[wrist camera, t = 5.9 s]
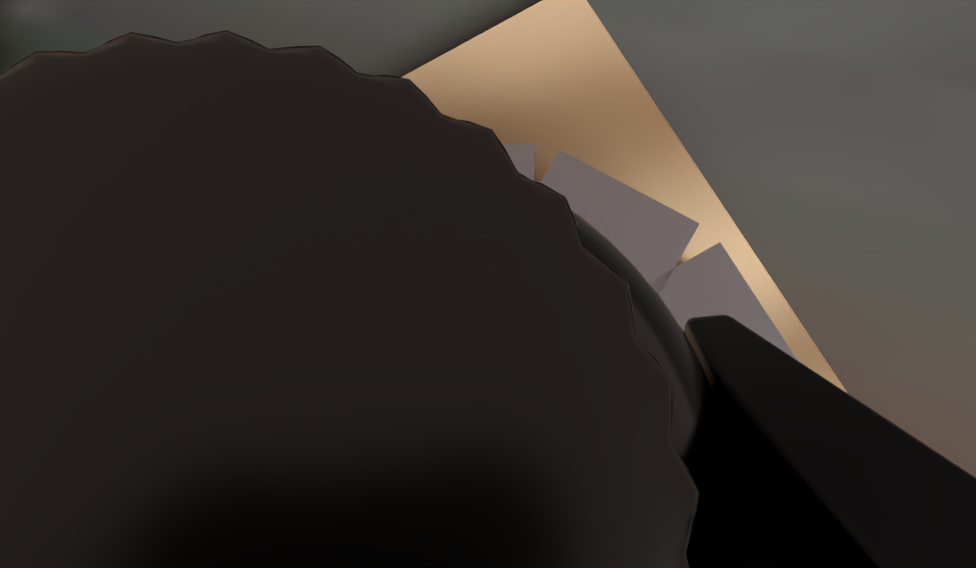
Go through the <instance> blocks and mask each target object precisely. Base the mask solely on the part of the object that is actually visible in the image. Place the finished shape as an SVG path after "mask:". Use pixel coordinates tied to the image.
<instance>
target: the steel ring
mask: <svg viewBox="0 0 976 568" xmlns="http://www.w3.org/2000/svg"><path fill="white" fill-rule="evenodd" d="M503 146H504V147H505V149H506V150H507V153H508V155H509V156H510V158H511V160H512V162H513V164H514V166H515V168H516V169H517V171H518V172H519V173H521V174H523V175H524V176H526V177H528V178H529V179H531V180H533V181H536V182H537V180H536V161H535V144H503ZM540 183H543V184H544V185H546V186H548V187H549V188H551V189H553V190H555V191H556V192H558V193H560V194H561V195H563V196H565V197H566V198H567V201H568V203H569V206H570V208H571V210H573V211H574V212H575V213H577V214H578V215H580V216H581V217H583V218H584V219H585V220H586V221H587V222H589V223H590V224H591V225H592V226H593V227H595V228H596V229H597V230H598V231H599V232H601V233H602V234H603V235H604V236H605V237H606V238H608V239H609V240H610V241H611V242H612V243H613V244H614V245H615V246H616V247H617V248H618V249H619V250H620V251H621V252H622V253H623V254H624V255H625V256H626V257H627V258H628V259H629V260H630V261H631V262H632V263H633V264H634V265H635V266H636V267H637V268H638V269H639V271H640V272H641V273H642V274H643V276H644V277H645V278H646V279H647V281H648V282H649V283H650V284H651V286H652V287H653V288H654V289H655V290H656V292H657V293H658V294H659V295H660V297H661V298H662V299H663V301H664V302H665V304H666V305H667V307H668V308H669V310H670V311H671V313H672V314H673V316H674V317H675V319H676V320H677V322H678V323H679V325H680V326H681V328H682V330H683V331H684V328H685V324H686V322H687V320H689V319H690V318H693V317H703V316H713V315H722V314H723V315H728V316H730V317H732V318H734V319H735V320H737V321H738V322H740V323H741V324H743V325H744V326H746V327H748V328H749V329H751V330H752V331H754V332H755V333H757V334H758V335H760V336H761V337H763V338H764V339H766V340H767V341H769V342H770V343H772V344H773V345H775V346H776V347H778V348H779V349H781V350H782V351H784V352H785V353H787V354H789V355H790V356H792V357H793V358H795V359H796V357H795V355H794V354H793V352H792V351H791V349H790V348H789V346H788V345H787V343H786V342H785V340H784V339H783V337H782V336H781V334H780V333H779V331H778V330H777V328H776V326H775V325H774V323H773V322H772V320H771V319H770V317H769V316H768V314H767V313H766V311H765V310H764V308H763V307H762V305H761V304H760V302H759V301H758V299H757V298H756V296H755V294H754V293H753V291H752V290H751V288H750V287H749V285H748V284H747V282H746V281H745V279H744V278H743V276H742V275H741V273H740V272H739V270H738V269H737V267H736V265H735V264H734V262H733V261H732V259H731V258H730V256H729V255H728V253H727V252H726V250H725V249H724V247H723V246H722V244H721V243H720V242H719V243H717V244H716V245H714V246H712V247H710V248H709V249H707V250H705V251H703V252H701V253H700V254H698V255H696V256H694V257H693V258H691V259H689V260H687V261H686V262H684V263H682V264H680V265H678V266H677V267H675V266H676V264H677V263H678V261H679V259H680V257H681V256H682V254H683V252H684V250H685V249H686V247H687V245H688V243H689V242H690V240H691V238H692V236H693V235H694V233H695V231H696V229H697V228H698V226H699V224H700V223H698V222H696V221H694V220H692V219H690V218H688V217H686V216H685V215H683V214H681V213H679V212H677V211H675V210H673V209H671V208H669V207H668V206H666V205H664V204H662V203H660V202H658V201H656V200H654V199H652V198H650V197H649V196H647V195H645V194H643V193H641V192H639V191H637V190H635V189H633V188H632V187H630V186H628V185H626V184H624V183H622V182H620V181H618V180H616V179H615V178H613V177H611V176H609V175H607V174H605V173H603V172H601V171H599V170H598V169H596V168H594V167H592V166H590V165H588V164H586V163H584V162H582V161H581V160H579V159H577V158H575V157H573V156H571V155H569V154H567V153H565V152H563V151H562V150H559V152H558V154H557V155H556V157H555V159H554V160H553V162H552V163H551V165H550V167H549V168H548V170H547V172H546V173H545V175H544V177H543V178H542V180H541V182H540ZM796 360H797V359H796Z"/></svg>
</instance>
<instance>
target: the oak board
mask: <svg viewBox="0 0 976 568" xmlns="http://www.w3.org/2000/svg"><path fill="white" fill-rule="evenodd" d="M401 78H407V79H410V80H411V81H412V82H413V83H414V84H415V85H416V86H417V87H418V88H419V89H420V90H421V91H422V92H423V93H424V94H426V95H427V97H428V98H429V99H430V100H431V102H432V103H433V104H434V105H435V106H436V108H437V109H438V110H439V111H440V112H441V114H444V115H446V116H449V117H452V118H455V119H457V120H466V121H470V122H473V123H476V124H478V125H481V126H484V127H486V128H489V129H492V130H493V131H494V133H495V134H496V136H497V137H498V139H499V140H500V141H501V143H502V144H535V161H536V180H537V182H539V183H540V182H541V180H542V178H543V177H544V175H545V173H546V172H547V170H548V168H549V167H550V165H551V163H552V162H553V160H554V159H555V157H556V155H557V154H558V152H559V150H562V151H563V152H565V153H567V154H569V155H571V156H573V157H575V158H577V159H579V160H581V161H582V162H584V163H586V164H588V165H590V166H592V167H594V168H596V169H598V170H599V171H601V172H603V173H605V174H607V175H609V176H611V177H613V178H615V179H616V180H618V181H620V182H622V183H624V184H626V185H628V186H630V187H632V188H633V189H635V190H637V191H639V192H641V193H643V194H645V195H647V196H649V197H650V198H652V199H654V200H656V201H658V202H660V203H662V204H664V205H666V206H668V207H669V208H671V209H673V210H675V211H677V212H679V213H681V214H683V215H685V216H686V217H688V218H690V219H692V220H694V221H696V222H698V223H700V224H699V226H698V228H697V229H696V231H695V233H694V235H693V236H692V238H691V240H690V242H689V243H688V245H687V247H686V249H685V250H684V252H683V254H682V256H681V257H680V259H679V261H678V263H677V264H676V266H675V267H677V266H678V265H680V264H682V263H684V262H686V261H687V260H689V259H691V258H693V257H694V256H696V255H698V254H700V253H701V252H703V251H705V250H707V249H709V248H710V247H712V246H714V245H716V244H717V243H719V242H720V243H721V244H722V246H723V247H724V249H725V250H726V252H727V253H728V255H729V256H730V258H731V259H732V261H733V262H734V264H735V265H736V267H737V269H738V270H739V272H740V273H741V275H742V276H743V278H744V279H745V281H746V282H747V284H748V285H749V287H750V288H751V290H752V291H753V293H754V294H755V296H756V298H757V299H758V301H759V302H760V304H761V305H762V307H763V308H764V310H765V311H766V313H767V314H768V316H769V317H770V319H771V320H772V322H773V323H774V325H775V326H776V328H777V330H778V331H779V333H780V334H781V336H782V337H783V339H784V340H785V342H786V343H787V345H788V346H789V348H790V349H791V351H792V352H793V354H794V355H795V357H796V359H797V360H798V361H799V362H801V363H802V364H804V365H805V366H807V367H808V368H810V369H811V370H813V371H814V372H816V373H817V374H819V375H820V376H822V377H823V378H825V379H827V380H828V381H830V382H831V383H833V384H834V385H836V386H837V387H839V388H840V389H842V390H843V391H845V392H846V390H845V389H844V387H843V386H842V384H841V383H840V381H839V380H838V378H837V377H836V375H835V374H834V372H833V371H832V369H831V368H830V366H829V365H828V363H827V362H826V360H825V359H824V357H823V356H822V354H821V353H820V351H819V350H818V348H817V347H816V345H815V344H814V342H813V341H812V339H811V338H810V336H809V335H808V333H807V332H806V330H805V329H804V327H803V326H802V324H801V323H800V321H799V320H798V318H797V316H796V315H795V313H794V312H793V310H792V309H791V307H790V306H789V304H788V303H787V301H786V300H785V298H784V297H783V295H782V294H781V292H780V291H779V289H778V288H777V286H776V285H775V283H774V282H773V280H772V279H771V277H770V276H769V274H768V273H767V271H766V270H765V268H764V267H763V265H762V264H761V262H760V261H759V259H758V258H757V256H756V255H755V253H754V252H753V250H752V249H751V247H750V246H749V244H748V243H747V241H746V240H745V238H744V237H743V235H742V234H741V232H740V231H739V229H738V228H737V226H736V225H735V223H734V222H733V220H732V219H731V217H730V216H729V214H728V213H727V211H726V210H725V208H724V207H723V205H722V204H721V202H720V201H719V199H718V198H717V196H716V195H715V193H714V192H713V190H712V189H711V187H710V186H709V184H708V183H707V181H706V180H705V178H704V176H703V175H702V173H701V172H700V170H699V169H698V167H697V166H696V164H695V163H694V161H693V160H692V158H691V157H690V155H689V154H688V152H687V151H686V149H685V148H684V146H683V145H682V143H681V142H680V140H679V139H678V137H677V136H676V134H675V133H674V131H673V130H672V128H671V127H670V125H669V124H668V122H667V121H666V119H665V118H664V116H663V115H662V113H661V112H660V110H659V109H658V107H657V106H656V104H655V103H654V101H653V100H652V98H651V97H650V95H649V94H648V92H647V91H646V89H645V88H644V86H643V85H642V83H641V82H640V80H639V79H638V77H637V76H636V74H635V73H634V71H633V70H632V68H631V67H630V65H629V64H628V62H627V61H626V59H625V58H624V56H623V55H622V53H621V52H620V50H619V49H618V47H617V46H616V44H615V43H614V41H613V40H612V38H611V36H610V35H609V33H608V32H607V30H606V29H605V27H604V26H603V24H602V23H601V21H600V20H599V18H598V17H597V15H596V14H595V12H594V11H593V9H592V8H591V6H590V5H589V3H588V2H587V0H542V1H540V2H538V3H537V4H535V5H533V6H531V7H529V8H527V9H526V10H524V11H522V12H520V13H518V14H516V15H515V16H513V17H511V18H509V19H507V20H505V21H504V22H502V23H500V24H498V25H496V26H494V27H493V28H491V29H489V30H487V31H485V32H483V33H482V34H480V35H478V36H476V37H474V38H472V39H471V40H469V41H467V42H465V43H463V44H461V45H460V46H458V47H456V48H454V49H452V50H450V51H449V52H447V53H445V54H443V55H441V56H439V57H437V58H436V59H434V60H432V61H430V62H428V63H426V64H425V65H423V66H421V67H419V68H417V69H415V70H414V71H412V72H410V73H408V74H406V75H404V76H403V77H401ZM846 393H847V392H846Z"/></svg>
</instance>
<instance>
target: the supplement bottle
mask: <svg viewBox="0 0 976 568" xmlns="http://www.w3.org/2000/svg"><path fill="white" fill-rule="evenodd" d="M0 568H743V523H742V514H741V505H740V495H739V486H738V480H737V475H736V470H735V466H734V461H733V456H732V451H731V446H730V442H729V439H728V435H727V432H726V429H725V426H724V422H723V419H722V416H721V413H720V409H719V406H718V403H717V401H716V398H715V396H714V393H713V391H712V389H711V386H710V384H709V381H708V379H707V377H706V374H705V372H704V369H703V367H702V365H701V363H700V361H699V359H698V357H697V356H696V354H695V352H694V350H693V348H692V346H691V344H690V342H689V340H688V339H687V337H686V335H685V333H684V331H683V330H682V328H681V326H680V325H679V323H678V322H677V320H676V319H675V317H674V316H673V314H672V313H671V311H670V310H669V308H668V307H667V305H666V304H665V302H664V301H663V299H662V298H661V297H660V295H659V294H658V293H657V292H656V290H655V289H654V288H653V287H652V286H651V284H650V283H649V282H648V281H647V279H646V278H645V277H644V276H643V274H642V273H641V272H640V271H639V269H638V268H637V267H636V266H635V265H634V264H633V263H632V262H631V261H630V260H629V259H628V258H627V257H626V256H625V255H624V254H623V253H622V252H621V251H620V250H619V249H618V248H617V247H616V246H615V245H614V244H613V243H612V242H611V241H610V240H609V239H608V238H606V237H605V236H604V235H603V234H602V233H601V232H599V231H598V230H597V229H596V228H595V227H593V226H592V225H591V224H590V223H589V222H587V221H586V220H585V219H584V218H583V217H581V216H580V215H578V214H577V213H575V212H574V211H573V210H571V208H570V206H569V203H568V201H567V198H566V197H565V196H563V195H561V194H560V193H558V192H556V191H555V190H553V189H551V188H549V187H548V186H546V185H544V184H543V183H539V182H536V181H533V180H531V179H529V178H528V177H526V176H524V175H523V174H521V173H519V172H518V171H517V169H516V168H515V166H514V164H513V162H512V160H511V158H510V156H509V155H508V153H507V150H506V149H505V147H504V146H503V144H502V143H501V141H500V140H499V139H498V137H497V136H496V134H495V133H494V131H493V130H492V129H489V128H486V127H484V126H481V125H478V124H476V123H473V122H470V121H466V120H457V119H455V118H452V117H449V116H446V115H444V114H441V112H440V111H439V110H438V109H437V108H436V106H435V105H434V104H433V103H432V102H431V100H430V99H429V98H428V97H427V95H426V94H424V93H423V92H422V91H421V90H420V89H419V88H418V87H417V86H416V85H415V84H414V83H413V82H412V81H411V80H410V79H407V78H400V77H394V76H388V75H377V76H375V75H368V74H362V73H357V72H356V71H355V70H354V69H352V68H351V67H350V66H349V65H347V64H346V63H345V62H344V61H342V60H341V59H340V58H338V57H337V56H335V55H334V54H332V53H331V52H329V51H328V50H326V49H324V48H323V47H321V46H294V47H284V48H274V49H268V48H266V47H264V46H262V45H260V44H258V43H256V42H254V41H252V40H250V39H248V38H245V37H243V36H240V35H238V34H235V33H232V32H230V31H227V30H226V31H221V32H216V33H211V34H206V35H202V36H200V37H197V38H195V39H191V40H186V41H181V42H174V41H170V40H166V39H163V38H159V37H155V36H150V35H144V34H138V33H133V32H131V33H128V34H126V35H123V36H121V37H118V38H115V39H113V40H110V41H108V42H107V43H105V44H103V45H102V46H100V47H97V48H95V49H92V50H89V51H87V52H70V51H36V52H35V53H33V54H31V55H29V56H28V57H26V58H24V59H23V60H21V61H19V62H17V63H16V64H14V65H13V66H12V67H11V68H10V69H9V70H7V71H5V72H4V73H2V74H0Z"/></svg>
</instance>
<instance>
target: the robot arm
mask: <svg viewBox="0 0 976 568" xmlns="http://www.w3.org/2000/svg"><path fill="white" fill-rule="evenodd" d="M684 333H685V335H686V337H687V339H688V340H689V342H690V344H691V346H692V348H693V350H694V352H695V354H696V356H697V357H698V359H699V361H700V363H701V365H702V367H703V369H704V372H705V374H706V377H707V379H708V381H709V384H710V386H711V389H712V391H713V393H714V396H715V398H716V401H717V403H718V406H719V409H720V413H721V416H722V419H723V422H724V426H725V429H726V432H727V435H728V439H729V442H730V446H731V451H732V456H733V461H734V466H735V470H736V475H737V480H738V486H739V495H740V505H741V514H742V523H743V568H976V478H975V477H974V476H972V475H971V474H969V473H968V472H966V471H965V470H963V469H962V468H960V467H959V466H957V465H956V464H954V463H953V462H951V461H950V460H948V459H947V458H945V457H943V456H942V455H940V454H939V453H937V452H936V451H934V450H933V449H931V448H930V447H928V446H927V445H925V444H924V443H922V442H921V441H919V440H918V439H916V438H915V437H913V436H912V435H910V434H909V433H907V432H906V431H904V430H902V429H901V428H899V427H898V426H896V425H895V424H893V423H892V422H890V421H889V420H887V419H886V418H884V417H883V416H881V415H880V414H878V413H877V412H875V411H874V410H872V409H871V408H869V407H868V406H866V405H864V404H863V403H861V402H860V401H858V400H857V399H855V398H854V397H852V396H851V395H849V394H848V393H846V392H845V391H843V390H842V389H840V388H839V387H837V386H836V385H834V384H833V383H831V382H830V381H828V380H827V379H825V378H823V377H822V376H820V375H819V374H817V373H816V372H814V371H813V370H811V369H810V368H808V367H807V366H805V365H804V364H802V363H801V362H799V361H798V360H796V359H795V358H793V357H792V356H790V355H789V354H787V353H785V352H784V351H782V350H781V349H779V348H778V347H776V346H775V345H773V344H772V343H770V342H769V341H767V340H766V339H764V338H763V337H761V336H760V335H758V334H757V333H755V332H754V331H752V330H751V329H749V328H748V327H746V326H744V325H743V324H741V323H740V322H738V321H737V320H735V319H734V318H732V317H730V316H728V315H723V314H722V315H713V316H703V317H693V318H690V319H689V320H687V322H686V324H685V328H684Z"/></svg>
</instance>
